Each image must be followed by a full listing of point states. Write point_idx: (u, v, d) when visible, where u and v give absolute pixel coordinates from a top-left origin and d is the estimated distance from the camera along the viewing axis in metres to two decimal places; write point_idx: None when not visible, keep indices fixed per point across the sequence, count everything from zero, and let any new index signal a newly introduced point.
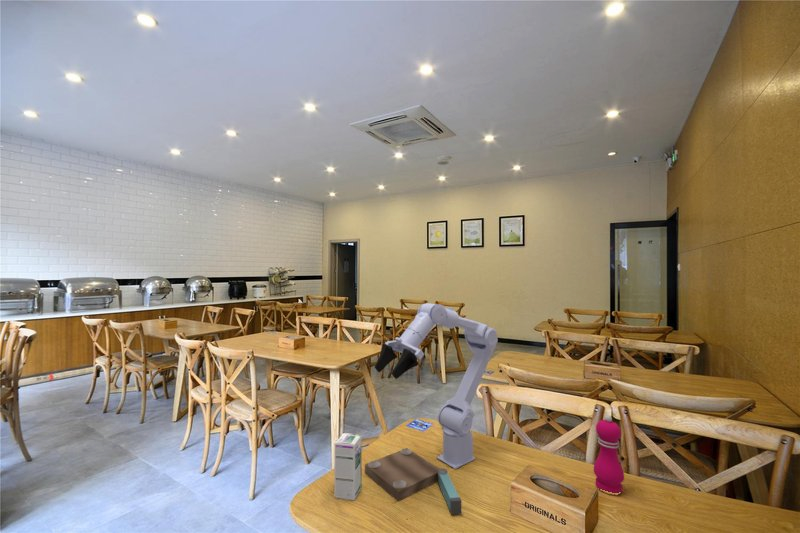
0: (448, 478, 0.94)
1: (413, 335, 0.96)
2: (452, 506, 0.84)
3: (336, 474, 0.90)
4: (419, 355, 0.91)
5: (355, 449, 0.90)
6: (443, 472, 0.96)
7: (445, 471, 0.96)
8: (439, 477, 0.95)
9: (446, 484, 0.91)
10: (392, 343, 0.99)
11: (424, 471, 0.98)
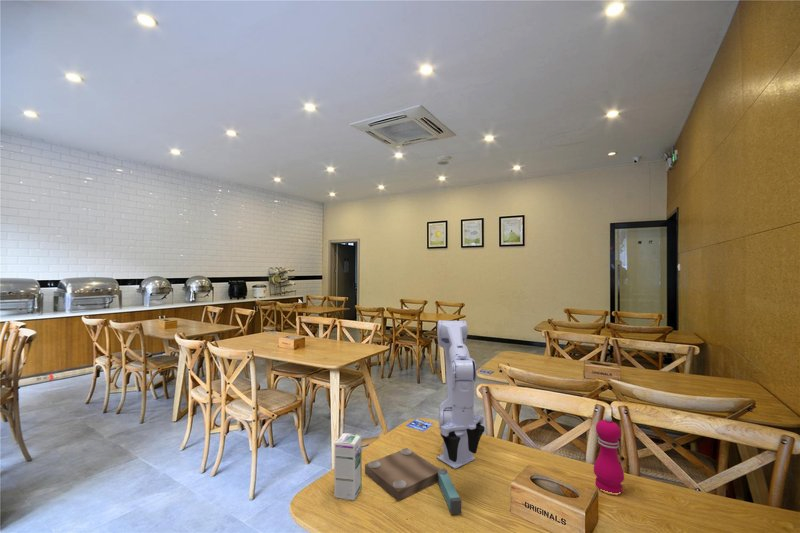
0: (448, 478, 0.94)
1: None
2: (452, 506, 0.84)
3: (336, 474, 0.90)
4: None
5: (355, 449, 0.90)
6: (443, 472, 0.96)
7: (445, 471, 0.96)
8: (439, 477, 0.95)
9: (446, 484, 0.91)
10: None
11: (424, 471, 0.98)
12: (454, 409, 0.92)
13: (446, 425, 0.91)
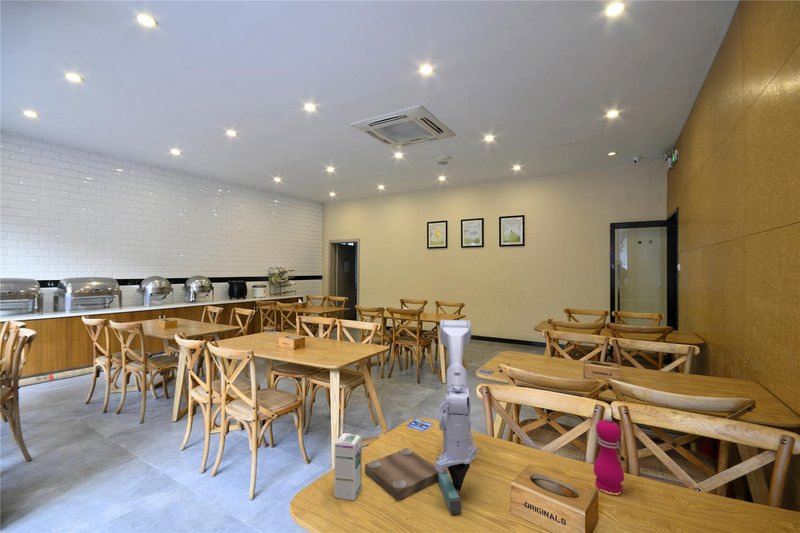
0: (448, 478, 0.94)
1: None
2: (452, 506, 0.84)
3: (336, 474, 0.90)
4: None
5: (355, 449, 0.90)
6: (443, 472, 0.96)
7: (445, 471, 0.96)
8: (439, 477, 0.95)
9: (446, 484, 0.91)
10: None
11: (424, 471, 0.98)
12: (448, 443, 0.90)
13: (440, 459, 0.89)
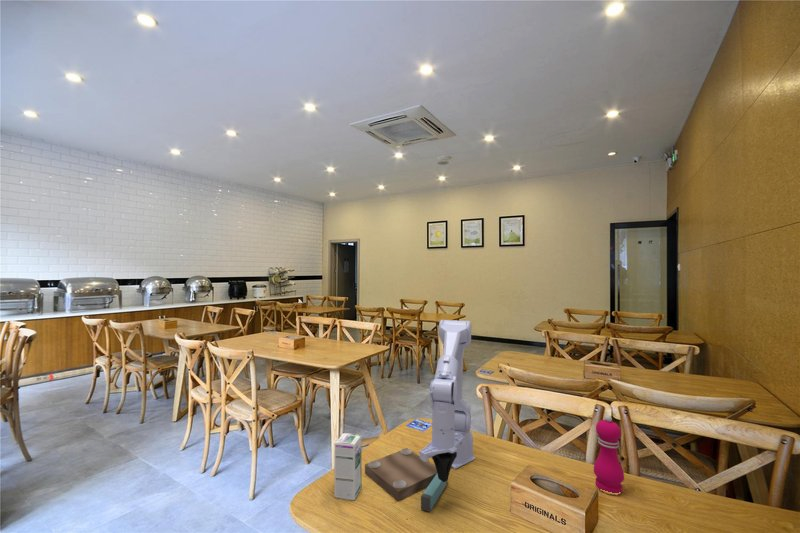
0: None
1: None
2: (421, 501, 0.86)
3: (336, 474, 0.90)
4: None
5: (355, 449, 0.90)
6: None
7: None
8: None
9: (433, 482, 0.92)
10: None
11: (424, 471, 0.98)
12: (434, 431, 0.87)
13: (425, 448, 0.86)
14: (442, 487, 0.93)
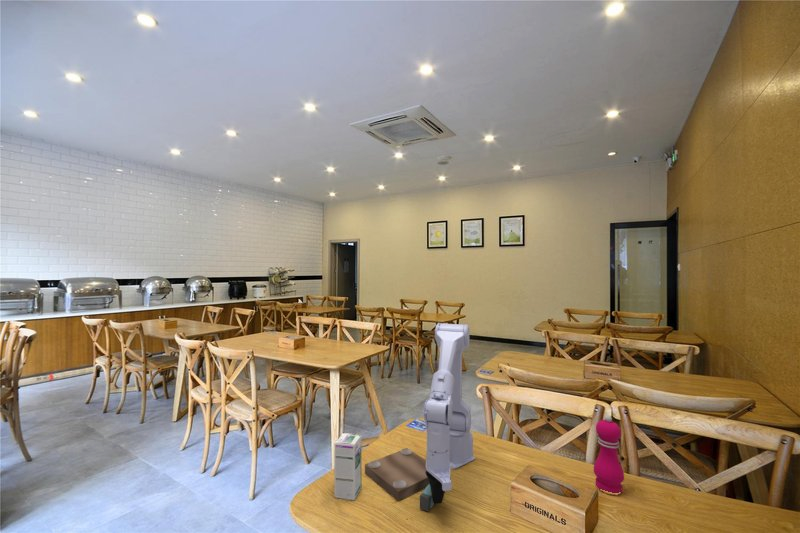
0: None
1: None
2: (420, 500, 0.86)
3: (336, 474, 0.90)
4: None
5: (355, 449, 0.90)
6: None
7: None
8: None
9: None
10: None
11: (424, 471, 0.98)
12: (439, 456, 0.83)
13: None
14: None
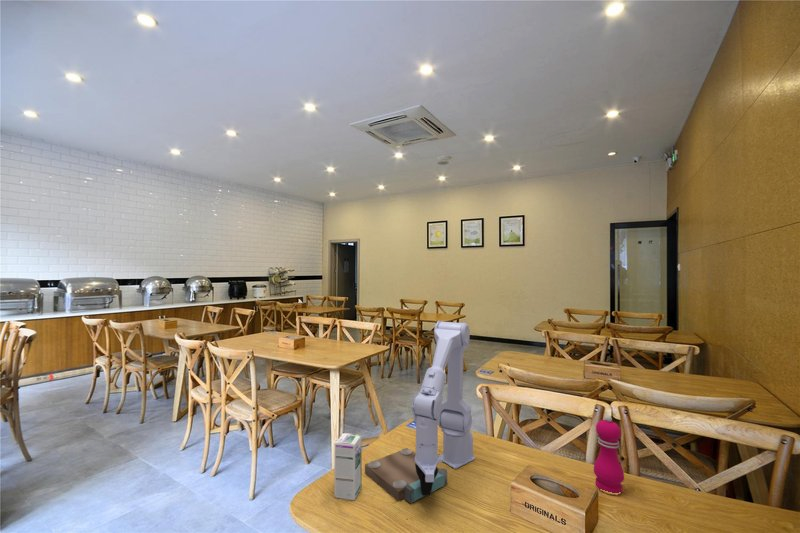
0: (436, 477, 0.94)
1: None
2: (405, 491, 0.89)
3: (336, 474, 0.90)
4: None
5: (355, 449, 0.90)
6: (441, 472, 0.96)
7: (444, 472, 0.96)
8: None
9: None
10: None
11: None
12: (426, 449, 0.87)
13: (424, 470, 0.84)
14: (436, 486, 0.93)
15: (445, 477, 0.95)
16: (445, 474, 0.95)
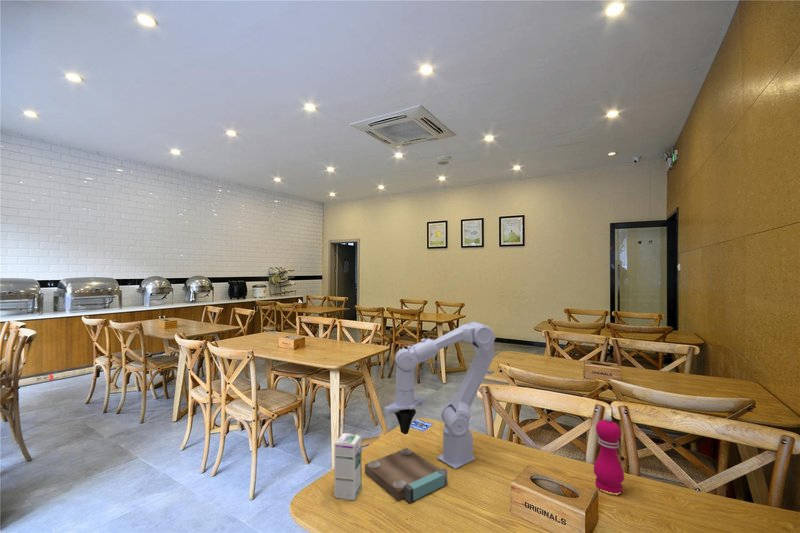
0: (436, 477, 0.94)
1: None
2: (404, 490, 0.90)
3: (336, 474, 0.90)
4: None
5: (355, 449, 0.90)
6: (441, 472, 0.96)
7: (443, 472, 0.96)
8: None
9: (425, 478, 0.93)
10: None
11: (424, 471, 0.98)
12: (397, 392, 1.06)
13: (389, 406, 1.05)
14: (436, 486, 0.93)
15: (445, 477, 0.95)
16: (445, 474, 0.95)
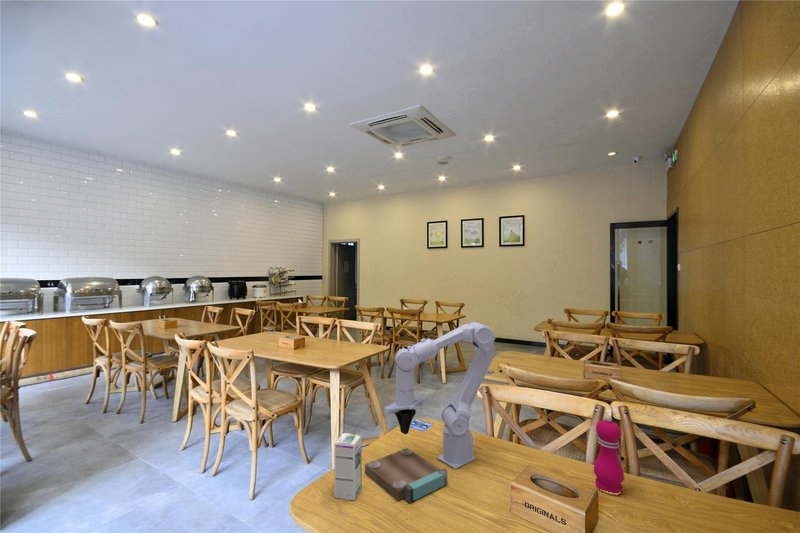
0: (436, 477, 0.94)
1: None
2: (404, 490, 0.90)
3: (336, 474, 0.90)
4: None
5: (355, 449, 0.90)
6: (441, 472, 0.96)
7: (443, 472, 0.96)
8: None
9: (425, 478, 0.93)
10: None
11: (424, 471, 0.98)
12: (397, 392, 1.06)
13: (389, 406, 1.05)
14: (436, 486, 0.93)
15: (445, 477, 0.95)
16: (445, 474, 0.95)
